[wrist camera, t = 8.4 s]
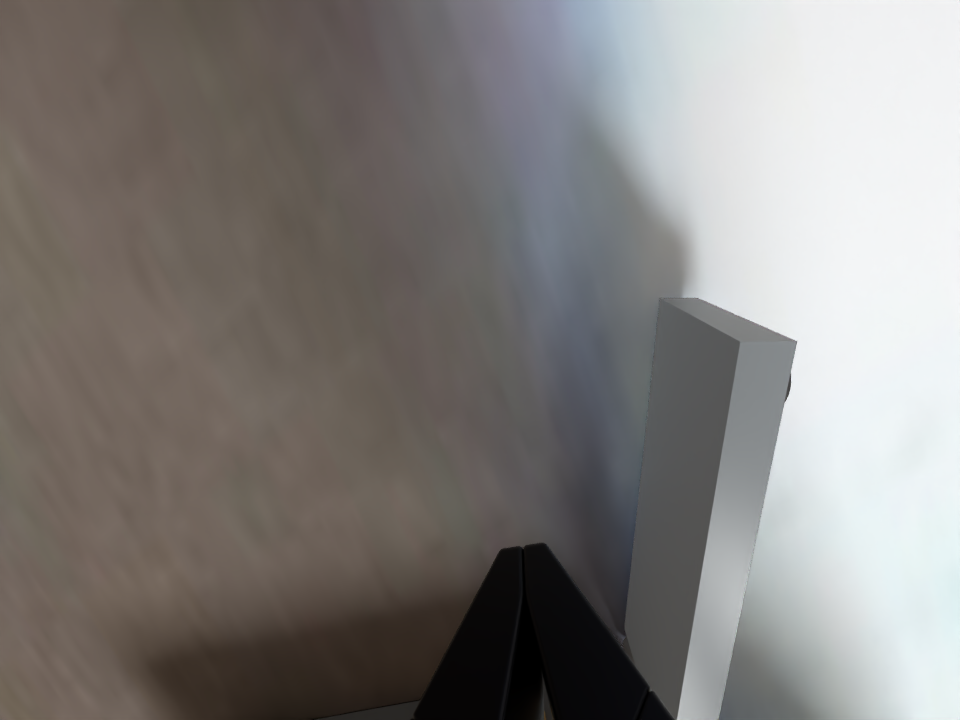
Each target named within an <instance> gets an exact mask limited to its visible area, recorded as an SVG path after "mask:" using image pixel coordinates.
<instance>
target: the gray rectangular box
mask: <svg viewBox="0 0 960 720" xmlns="http://www.w3.org/2000/svg"><path fill="white" fill-rule="evenodd" d="M543 686H544V720H553V717H552V713H551V709H550V705H549V701H548V696H547V692H546V687H545V683H544V679H543ZM419 702H420V701H414V702H409V703H403V704H398V705H392V706H387V707H381V708H376V709H370V710H365V711H359V712H354V713H348V714H343V715H337V716H332V717H326V718H321V719H316V720H410V719H411V718H414V717H413V713H414V711H415V709H416V707H417V705H418V703H419Z"/></svg>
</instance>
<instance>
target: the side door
mask: <svg viewBox="0 0 960 720" xmlns="http://www.w3.org/2000/svg"><path fill="white" fill-rule="evenodd" d="M796 344H797V341H795V340H793V339H790V338H788V337H786V336H783V335H781V334H779V333H777V332H774V331H772V330H770V329H767V328H765V327H763V326H761V325H758V324H756V323H754V322H751V321H749V320H747V319H745V318H742V317H740V316H738V315H735V314H733V313H731V312H729V311H726V310H724V309H722V308H719V307H717V306H715V305H713V304H710V303H708V302H706V301H703V300H701V299H699V298H660V300H659V310H658V319H657V328H656V338H655V347H654V356H653V366H652V375H651V384H650V393H649V403H648V412H647V421H646V431H645V440H644V449H643V459H642V468H641V477H640V487H639V496H638V505H637V514H636V524H635V533H634V542H633V552H632V561H631V570H630V580H629V589H628V598H627V608H626V617H625V626H624V629H625V633H626V637H625V639H624V640H623V648H624V651H625V652H626V654H627V655H628V656H629V658H630V659H631V661H632V662H633V663H634V665H635V666H636V667H637V669H638V670H639V671H640V673H641V674H642V676H643V677H644V678H645V680H646V681H647V682H648V684H649V685H650V687H651V690H652V691H654V692H655V693H656V694H657V696H658V697H659V698H660V700H661V701H662V702H663V704H664V705H665V707H666V708H667V709H668V711H669V712H670V713H671V715H672V716H673V717H674V719H675V720H719V715H720V710H721V705H722V701H723V696H724V691H725V686H726V681H727V677H728V672H729V667H730V662H731V657H732V652H733V648H734V643H735V638H736V633H737V628H738V624H739V619H740V614H741V609H742V604H743V599H744V595H745V590H746V585H747V580H748V575H749V570H750V566H751V561H752V556H753V551H754V546H755V542H756V537H757V532H758V527H759V522H760V517H761V513H762V508H763V503H764V498H765V493H766V489H767V484H768V479H769V474H770V469H771V464H772V460H773V455H774V450H775V445H776V440H777V436H778V431H779V426H780V421H781V416H782V411H783V407H784V403H785V401H786V399H787V397H788V395H789V391H790V386H791V368H792V363H793V358H794V354H795V349H796Z"/></svg>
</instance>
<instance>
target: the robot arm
mask: <svg viewBox="0 0 960 720" xmlns="http://www.w3.org/2000/svg"><path fill="white" fill-rule="evenodd" d="M543 679H544V683H545V687H546V692H547V696H548V701H549V705H550V709H551V713H552V717H553V720H675V719H674V717H673V716H672V715H671V713H670V712H669V711H668V709H667V708H666V707H665V705H664V704H663V702H662V701H661V700H660V698H659V697H658V696H657V694H656V693H655V692H654V691H652V690H651V687H650V685H649V684H648V682H647V681H646V680H645V678H644V677H643V676H642V674H641V673H640V671H639V670H638V669H637V667H636V666H635V665H634V663H633V662H632V661H631V659H630V658H629V656H628V655H627V654H626V652H625V651H624V650H623V648H622V647H621V646H620V644H619V643H618V641H617V640H616V639H615V637H614V636H613V635H612V633H611V632H610V631H609V629H608V628H607V626H606V625H605V624H604V622H603V621H602V620H601V618H600V617H599V615H598V614H597V613H596V611H595V610H594V609H593V607H592V606H591V605H590V603H589V602H588V600H587V599H586V598H585V596H584V595H583V594H582V592H581V591H580V590H579V588H578V587H577V585H576V584H575V583H574V581H573V580H572V579H571V577H570V576H569V574H568V573H567V572H566V570H565V569H564V568H563V566H562V565H561V564H560V562H559V561H558V559H557V558H556V557H555V555H554V554H553V553H552V551H551V550H550V549H549V547H548V546H547V545H546V544H545V543H537V544H530V545H526V546H524V549H523V548H522V547H520V546H516V547H510V548H503V549H501V550H500V551H499V553H498V555H497V557H496V559H495V560H494V562H493V564H492V566H491V568H490V570H489V572H488V574H487V575H486V577H485V579H484V581H483V583H482V585H481V587H480V589H479V591H478V592H477V594H476V596H475V598H474V600H473V602H472V604H471V606H470V607H469V609H468V611H467V613H466V615H465V617H464V619H463V621H462V623H461V624H460V626H459V628H458V630H457V632H456V634H455V636H454V638H453V639H452V641H451V643H450V645H449V647H448V649H447V651H446V653H445V655H444V656H443V658H442V660H441V662H440V664H439V666H438V668H437V670H436V671H435V673H434V675H433V677H432V679H431V681H430V683H429V685H428V686H427V688H426V690H425V692H424V694H423V696H422V698H421V700H420V702H419V703H418V705H417V707H416V709H415V711H414V713H413V717H414V718H411V719H410V720H544V686H543Z"/></svg>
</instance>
